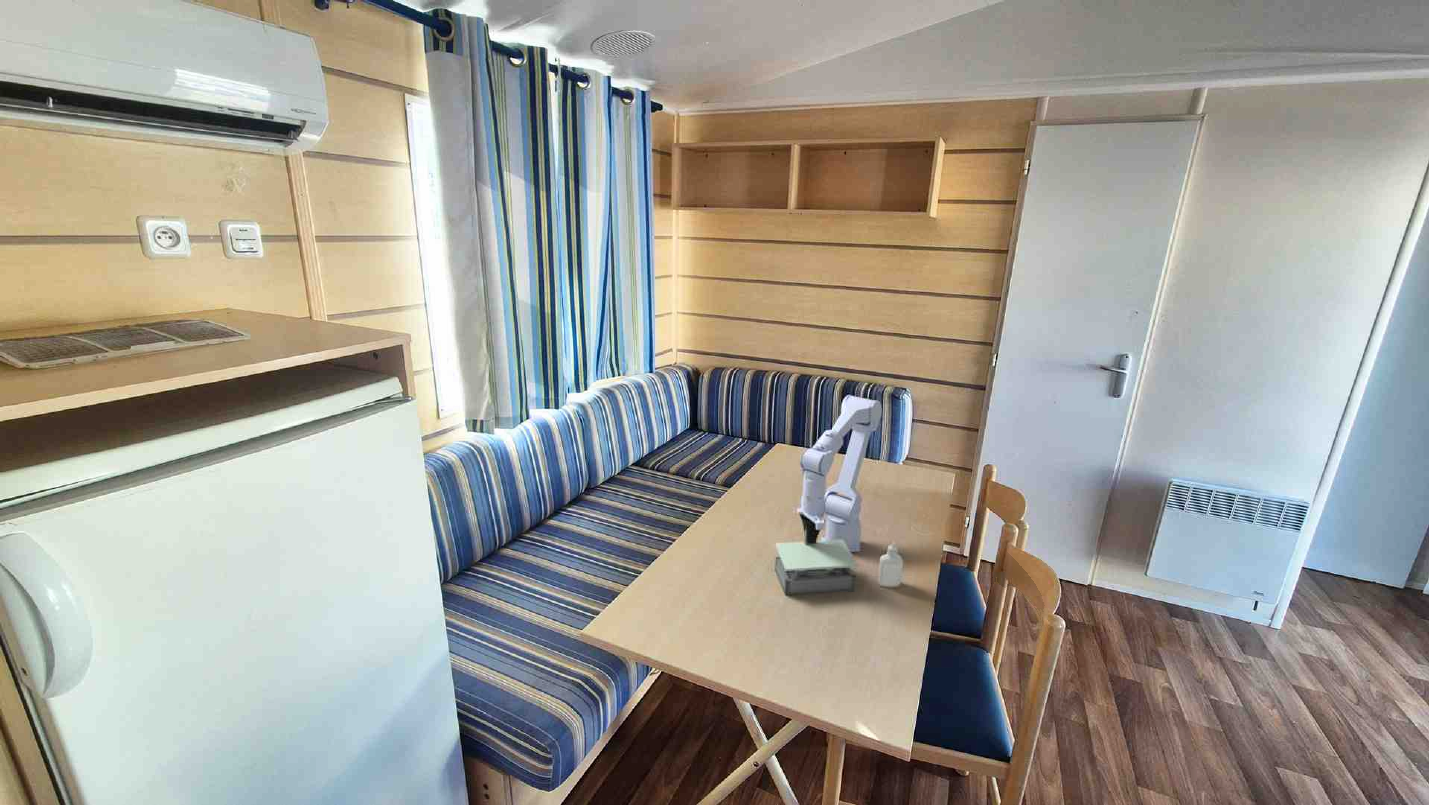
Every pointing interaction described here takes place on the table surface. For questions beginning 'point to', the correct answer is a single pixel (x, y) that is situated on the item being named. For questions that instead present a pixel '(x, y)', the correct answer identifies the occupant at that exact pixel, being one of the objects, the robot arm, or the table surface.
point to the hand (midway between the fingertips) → (810, 540)
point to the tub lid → (815, 555)
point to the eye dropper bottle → (890, 568)
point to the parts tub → (814, 580)
